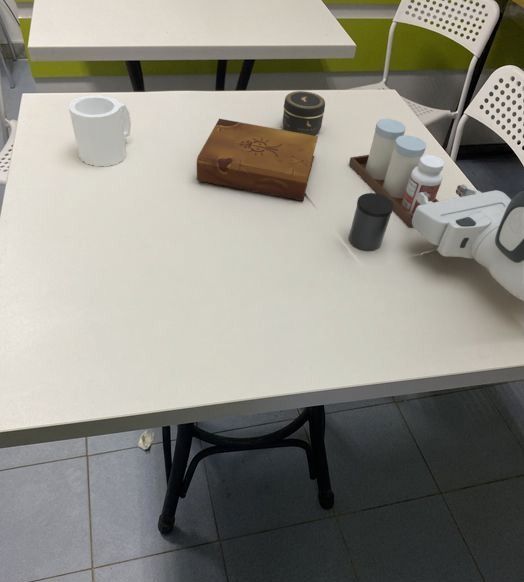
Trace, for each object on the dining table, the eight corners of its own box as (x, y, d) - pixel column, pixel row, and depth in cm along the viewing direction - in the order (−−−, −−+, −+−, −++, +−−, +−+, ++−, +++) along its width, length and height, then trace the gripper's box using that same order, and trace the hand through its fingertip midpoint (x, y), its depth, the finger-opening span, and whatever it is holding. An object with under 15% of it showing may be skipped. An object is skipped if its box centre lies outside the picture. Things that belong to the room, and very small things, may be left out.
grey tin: (369, 230, 99) (381, 190, 92) (387, 250, 95) (400, 210, 89) (341, 236, 97) (351, 196, 90) (358, 256, 93) (369, 216, 86)
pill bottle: (433, 208, 105) (452, 160, 96) (423, 222, 101) (442, 172, 93) (406, 198, 107) (423, 149, 98) (395, 210, 103) (412, 161, 95)
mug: (111, 133, 116) (104, 85, 108) (145, 147, 113) (140, 99, 105) (69, 156, 108) (57, 106, 100) (105, 171, 105) (96, 122, 97)
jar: (288, 141, 120) (292, 109, 114) (276, 122, 126) (279, 91, 120) (326, 138, 123) (332, 107, 117) (312, 120, 129) (317, 89, 123)
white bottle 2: (399, 181, 111) (415, 133, 103) (415, 196, 108) (432, 148, 99) (376, 185, 109) (390, 137, 101) (391, 200, 106) (407, 152, 97)
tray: (348, 167, 115) (350, 157, 113) (383, 161, 118) (385, 151, 116) (408, 230, 100) (412, 220, 98) (446, 222, 103) (451, 212, 101)
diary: (196, 183, 105) (196, 158, 101) (218, 142, 117) (219, 118, 113) (302, 202, 103) (306, 178, 99) (313, 159, 116) (318, 135, 111)
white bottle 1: (382, 164, 115) (395, 117, 107) (396, 178, 112) (411, 130, 103) (359, 168, 113) (371, 120, 105) (373, 182, 110) (386, 134, 102)
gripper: (538, 208, 89) (488, 169, 97) (447, 228, 83) (402, 184, 91) (521, 237, 94) (475, 197, 102) (434, 257, 88) (392, 213, 95)
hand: (440, 191), depth 96 cm, fingers open, 8 cm apart
